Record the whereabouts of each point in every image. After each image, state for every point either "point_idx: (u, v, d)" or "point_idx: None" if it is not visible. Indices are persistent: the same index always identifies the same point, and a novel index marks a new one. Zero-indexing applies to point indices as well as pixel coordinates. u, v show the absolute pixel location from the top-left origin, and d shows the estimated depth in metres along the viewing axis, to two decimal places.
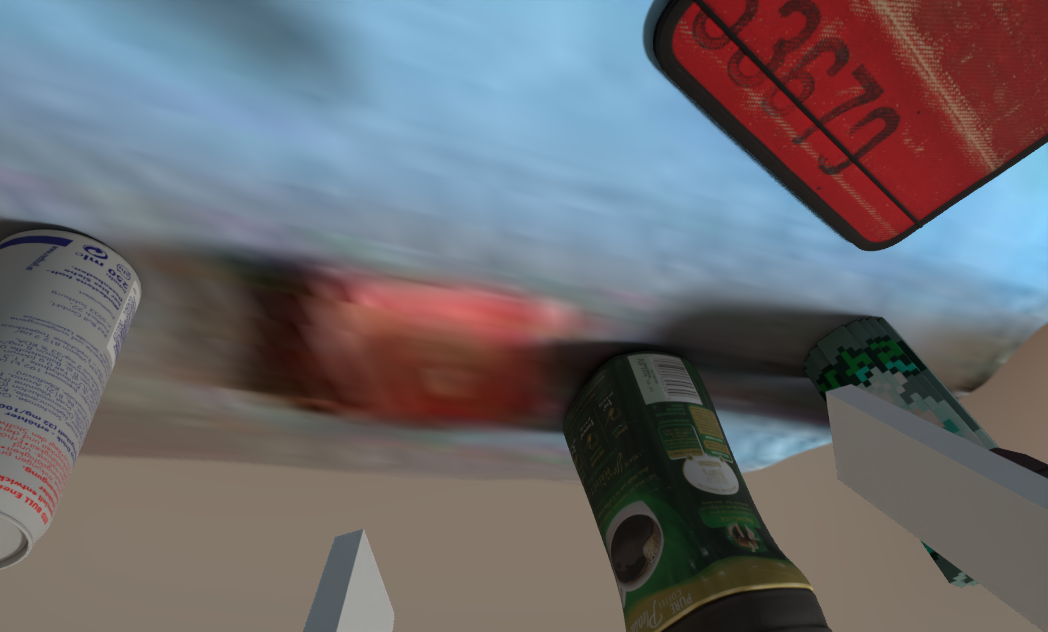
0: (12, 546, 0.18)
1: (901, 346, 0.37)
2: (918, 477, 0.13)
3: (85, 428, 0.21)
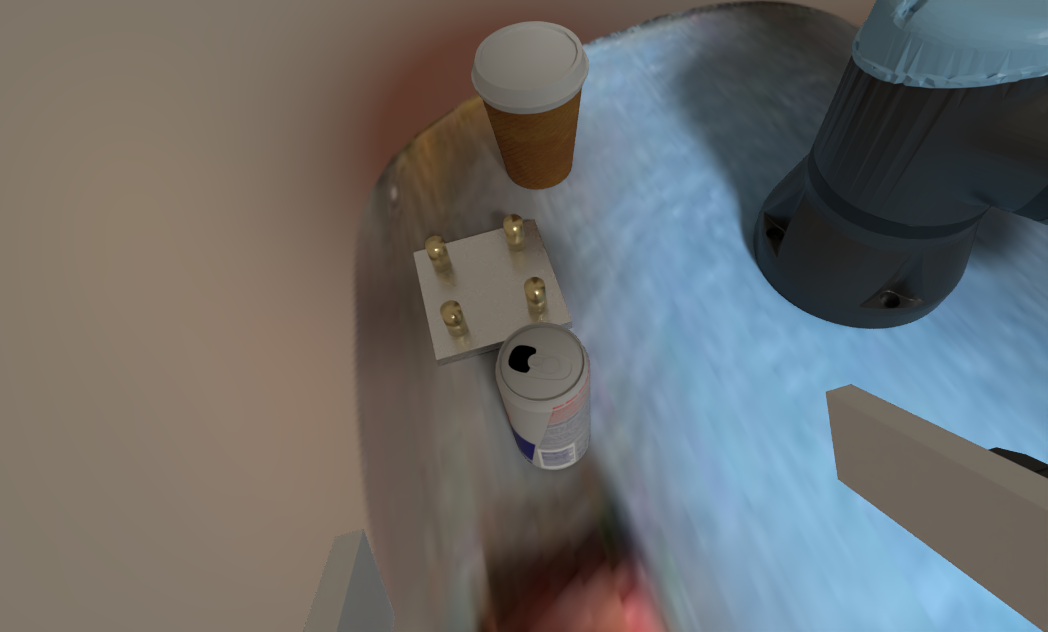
0: (536, 395, 0.31)
1: None
2: (918, 477, 0.13)
3: (559, 431, 0.34)
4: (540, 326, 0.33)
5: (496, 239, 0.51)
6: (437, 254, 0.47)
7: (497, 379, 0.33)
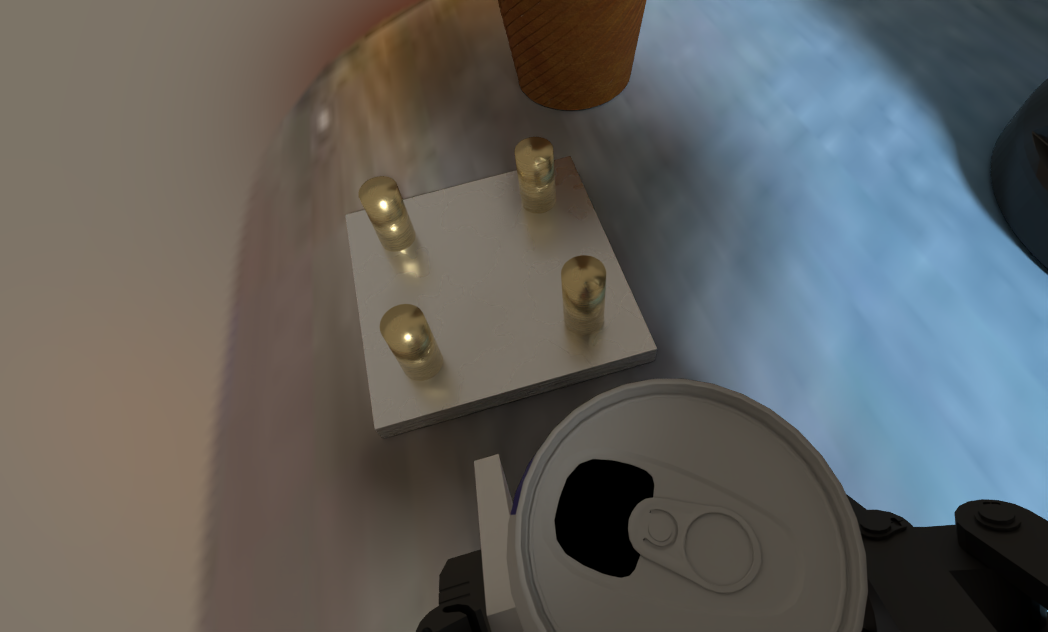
0: None
1: None
2: None
3: None
4: (661, 392, 0.10)
5: (500, 191, 0.27)
6: (382, 213, 0.24)
7: (515, 592, 0.09)
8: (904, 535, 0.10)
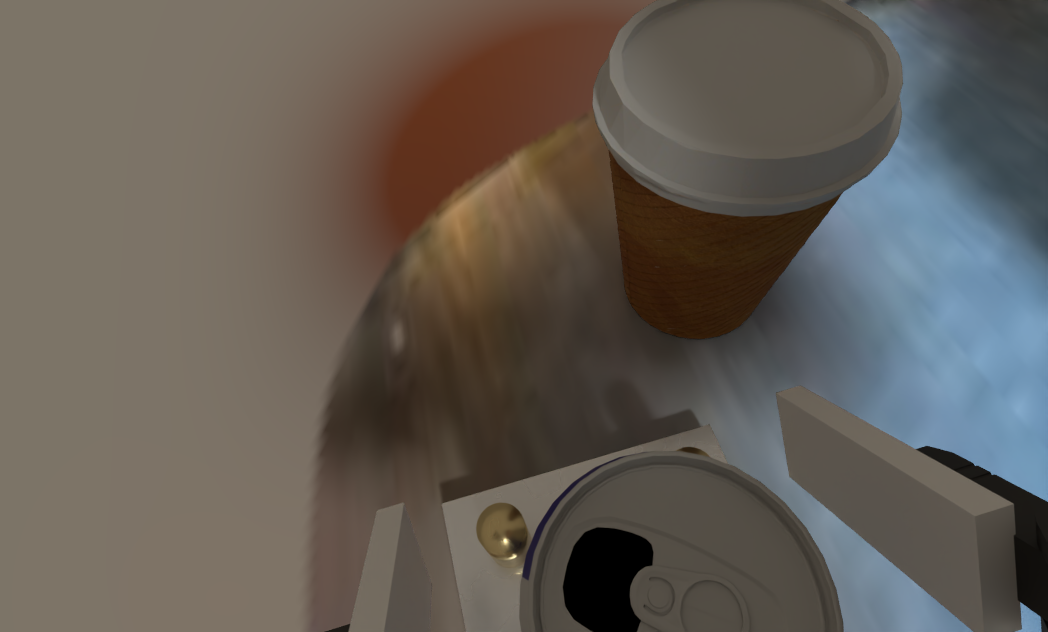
0: None
1: None
2: (853, 474, 0.14)
3: None
4: (660, 462, 0.11)
5: None
6: (506, 555, 0.19)
7: None
8: None
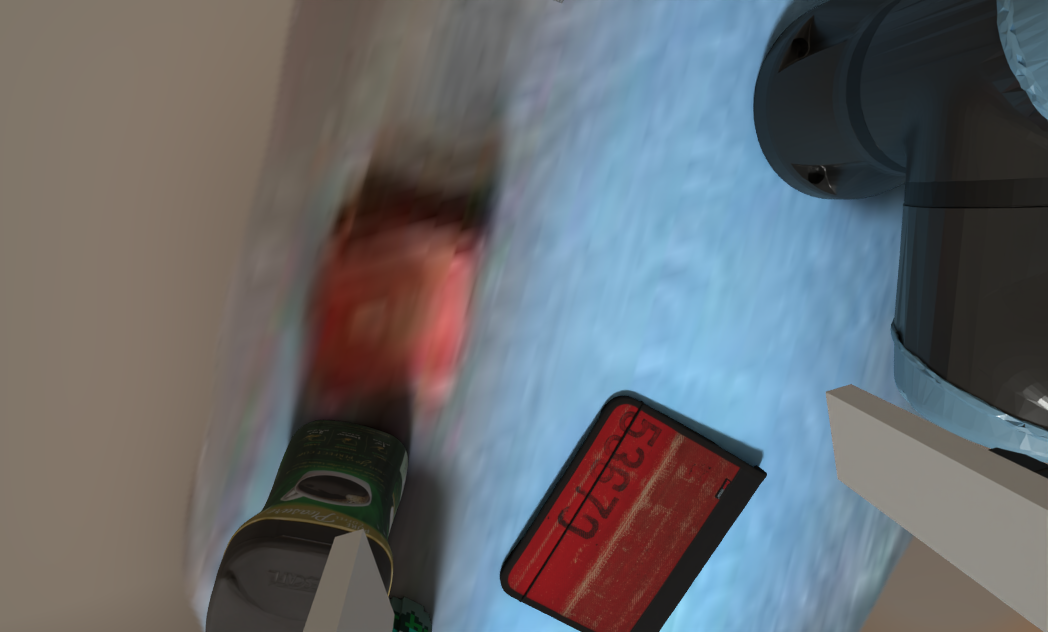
0: None
1: None
2: (918, 477, 0.13)
3: None
4: None
5: None
6: None
7: None
8: None
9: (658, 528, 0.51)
